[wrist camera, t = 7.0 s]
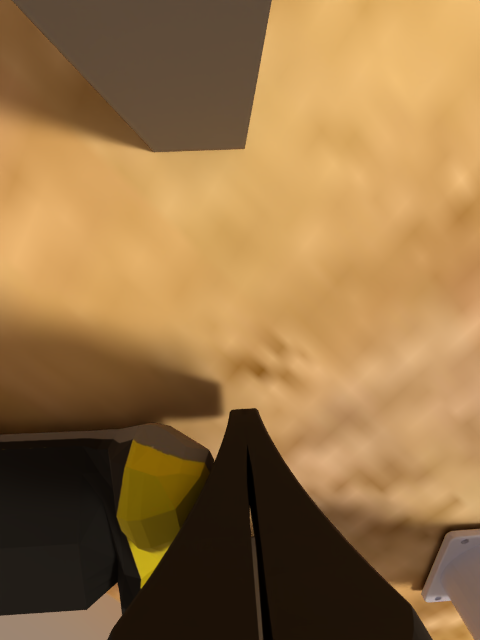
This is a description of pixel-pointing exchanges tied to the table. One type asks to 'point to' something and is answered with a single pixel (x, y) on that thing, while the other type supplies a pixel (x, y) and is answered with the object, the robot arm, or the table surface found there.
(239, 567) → the robot arm
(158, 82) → the posts
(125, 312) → the table surface
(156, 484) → the black yellow sneaker
